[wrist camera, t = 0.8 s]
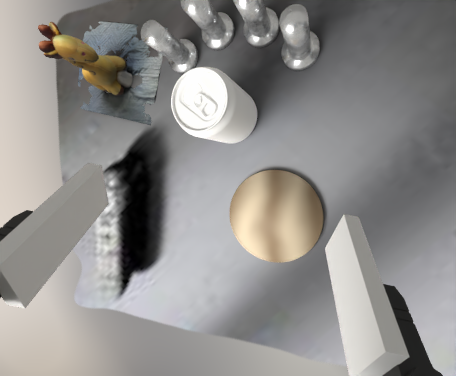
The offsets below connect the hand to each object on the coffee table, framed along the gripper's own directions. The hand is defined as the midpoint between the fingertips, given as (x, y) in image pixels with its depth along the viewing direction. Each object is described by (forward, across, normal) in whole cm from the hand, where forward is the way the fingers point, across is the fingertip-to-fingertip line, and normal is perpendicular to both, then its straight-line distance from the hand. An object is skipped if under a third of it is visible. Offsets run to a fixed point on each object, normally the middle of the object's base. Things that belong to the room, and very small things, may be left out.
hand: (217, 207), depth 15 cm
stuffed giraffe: (+37, -24, -6) cm, 45 cm away
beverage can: (+29, -2, -6) cm, 29 cm away
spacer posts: (+33, -3, +2) cm, 34 cm away
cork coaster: (+20, +7, -17) cm, 27 cm away
